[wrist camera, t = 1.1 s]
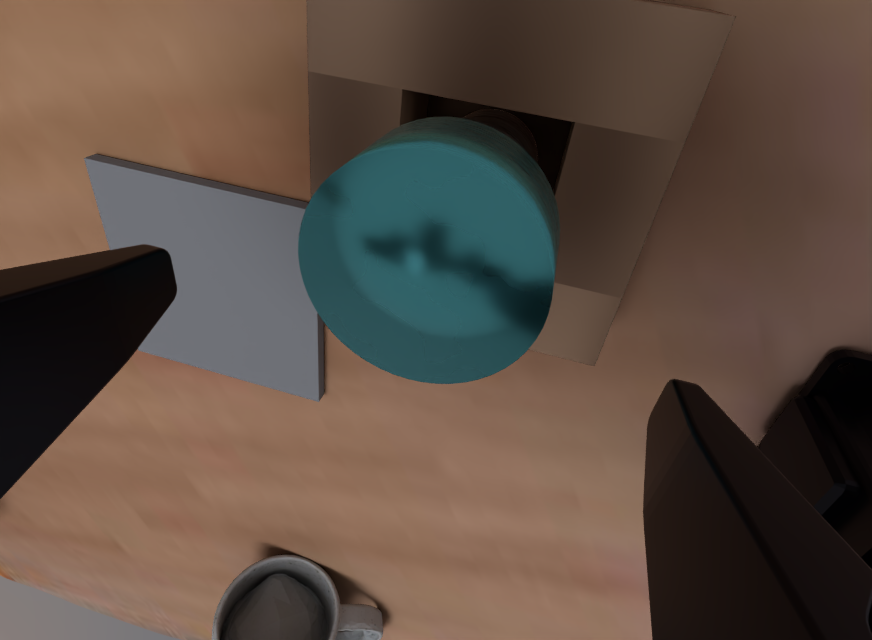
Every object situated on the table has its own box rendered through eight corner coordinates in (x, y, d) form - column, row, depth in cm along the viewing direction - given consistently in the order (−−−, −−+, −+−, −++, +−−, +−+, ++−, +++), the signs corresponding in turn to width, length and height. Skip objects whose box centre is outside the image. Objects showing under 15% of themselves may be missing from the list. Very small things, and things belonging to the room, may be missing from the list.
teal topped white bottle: (590, 90, 15) (589, 182, 8) (547, 246, 18) (519, 408, 11) (423, 60, 16) (292, 121, 9) (408, 215, 19) (302, 350, 12)
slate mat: (322, 205, 19) (315, 211, 19) (324, 393, 25) (318, 401, 25) (95, 154, 21) (84, 158, 20) (146, 343, 27) (138, 350, 26)
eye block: (710, 10, 13) (736, 16, 11) (594, 317, 19) (594, 366, 17) (353, -46, 15) (305, -51, 12) (345, 257, 20) (313, 294, 18)
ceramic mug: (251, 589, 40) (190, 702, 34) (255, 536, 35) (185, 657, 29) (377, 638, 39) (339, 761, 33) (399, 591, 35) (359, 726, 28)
